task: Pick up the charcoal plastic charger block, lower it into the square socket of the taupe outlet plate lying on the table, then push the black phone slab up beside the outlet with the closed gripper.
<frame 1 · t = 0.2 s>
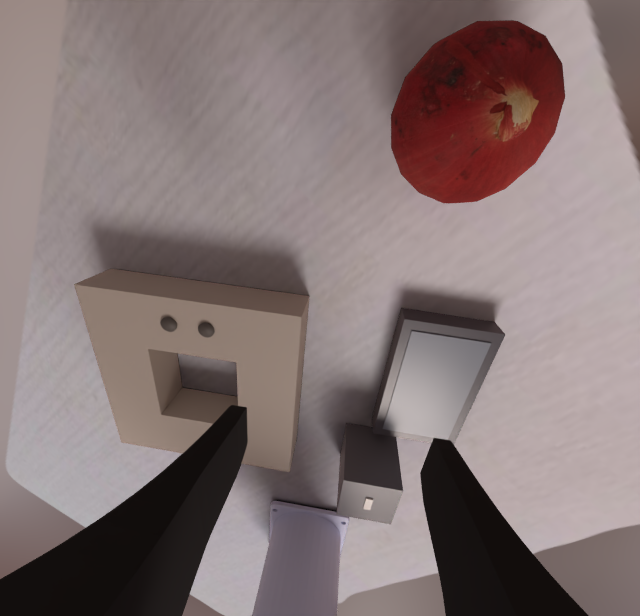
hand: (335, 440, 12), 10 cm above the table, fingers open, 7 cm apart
onion: (442, 132, 15), on the table
phone: (425, 371, 22), on the table
outlet plate: (214, 364, 23), on the table
charger: (366, 443, 25), on the table
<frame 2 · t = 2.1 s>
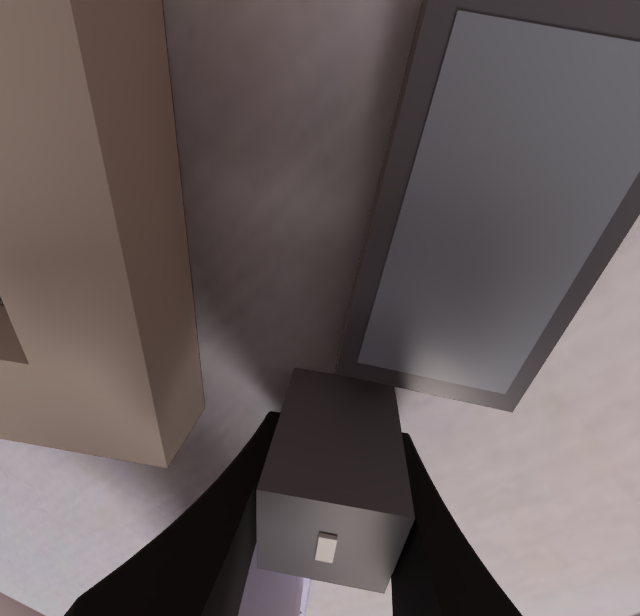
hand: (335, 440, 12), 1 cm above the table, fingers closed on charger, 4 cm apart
phone: (462, 232, 9), on the table
outlet plate: (6, 237, 11), on the table
charger: (337, 412, 13), on the table, touching gripper
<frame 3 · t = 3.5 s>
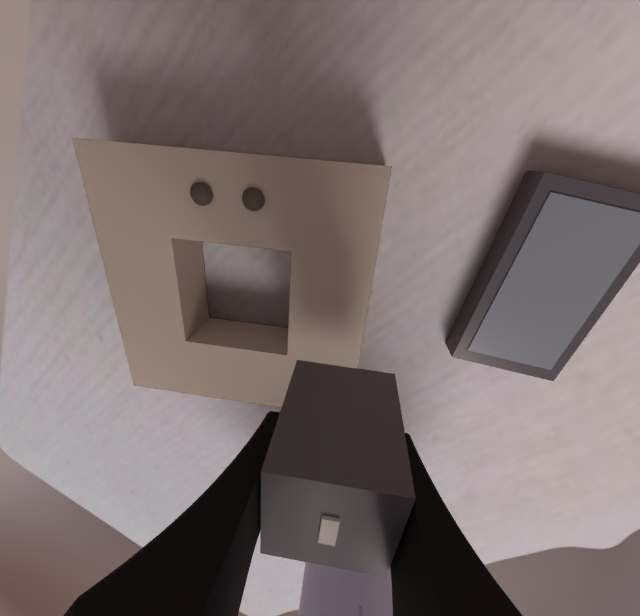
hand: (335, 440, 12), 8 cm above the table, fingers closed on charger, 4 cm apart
phone: (529, 278, 17), on the table
outlet plate: (251, 281, 18), on the table
charger: (339, 403, 13), point 7 cm above the table, touching gripper
when the fingers open (5 cm above the table, at t = 5.0 s): charger drops 3 cm, resting in outlet plate.
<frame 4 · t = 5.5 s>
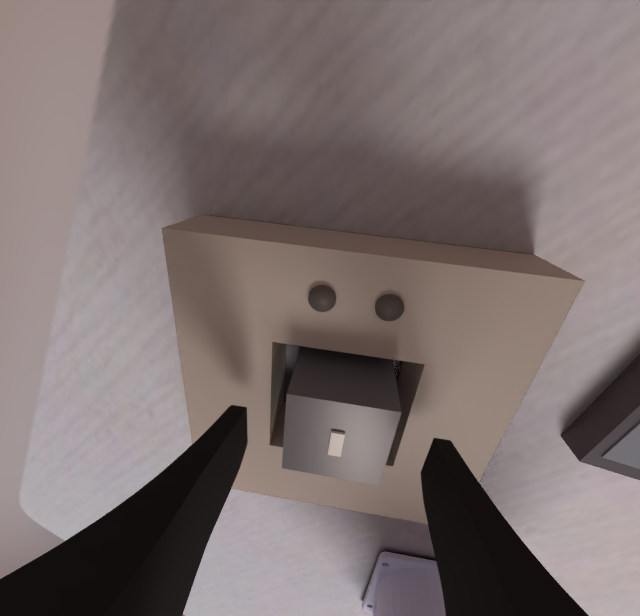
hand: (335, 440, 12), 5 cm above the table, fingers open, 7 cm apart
outlet plate: (341, 367, 16), on the table
charger: (342, 362, 16), resting in outlet plate
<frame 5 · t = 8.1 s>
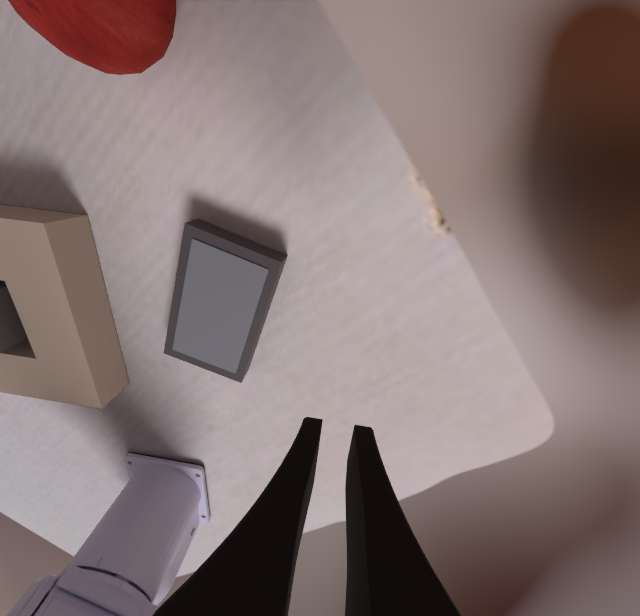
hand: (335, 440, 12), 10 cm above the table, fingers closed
onion: (153, 19, 15), on the table
phone: (228, 300, 21), on the table
outlet plate: (25, 298, 23), on the table
charger: (25, 295, 23), resting in outlet plate
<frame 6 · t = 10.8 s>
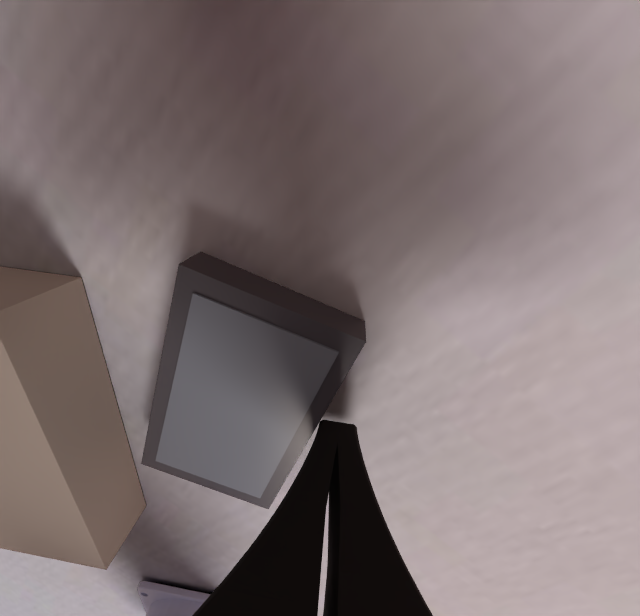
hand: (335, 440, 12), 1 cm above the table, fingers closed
phone: (250, 378, 13), on the table
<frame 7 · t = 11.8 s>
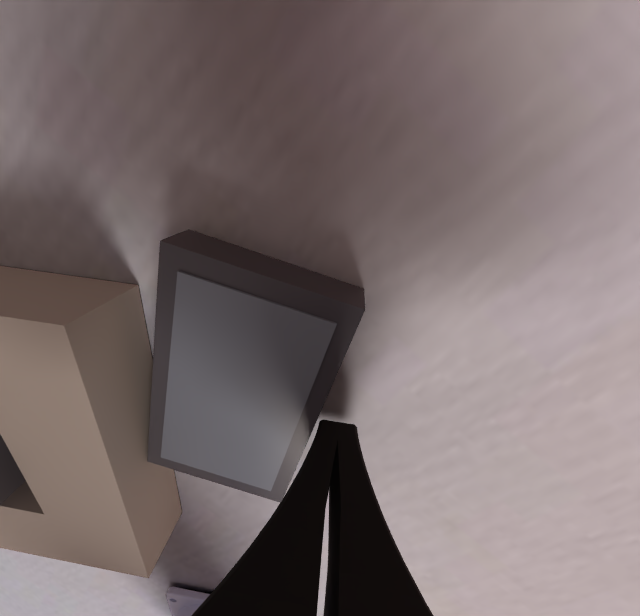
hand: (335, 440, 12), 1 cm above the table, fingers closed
phone: (251, 366, 12), on the table
outlet plate: (25, 400, 14), on the table
charger: (26, 395, 14), resting in outlet plate
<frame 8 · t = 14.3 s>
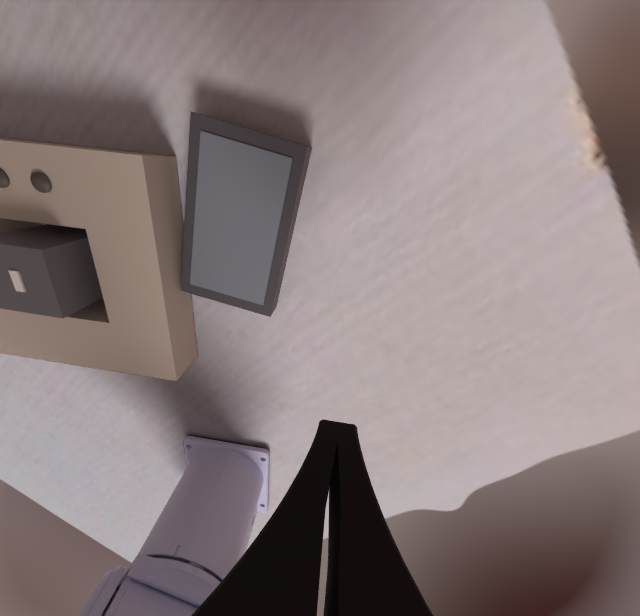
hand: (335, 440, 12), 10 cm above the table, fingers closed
phone: (247, 221, 19), on the table
outlet plate: (91, 258, 21), on the table
charger: (92, 255, 21), resting in outlet plate
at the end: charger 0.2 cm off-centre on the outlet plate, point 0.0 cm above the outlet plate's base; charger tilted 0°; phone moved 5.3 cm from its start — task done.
